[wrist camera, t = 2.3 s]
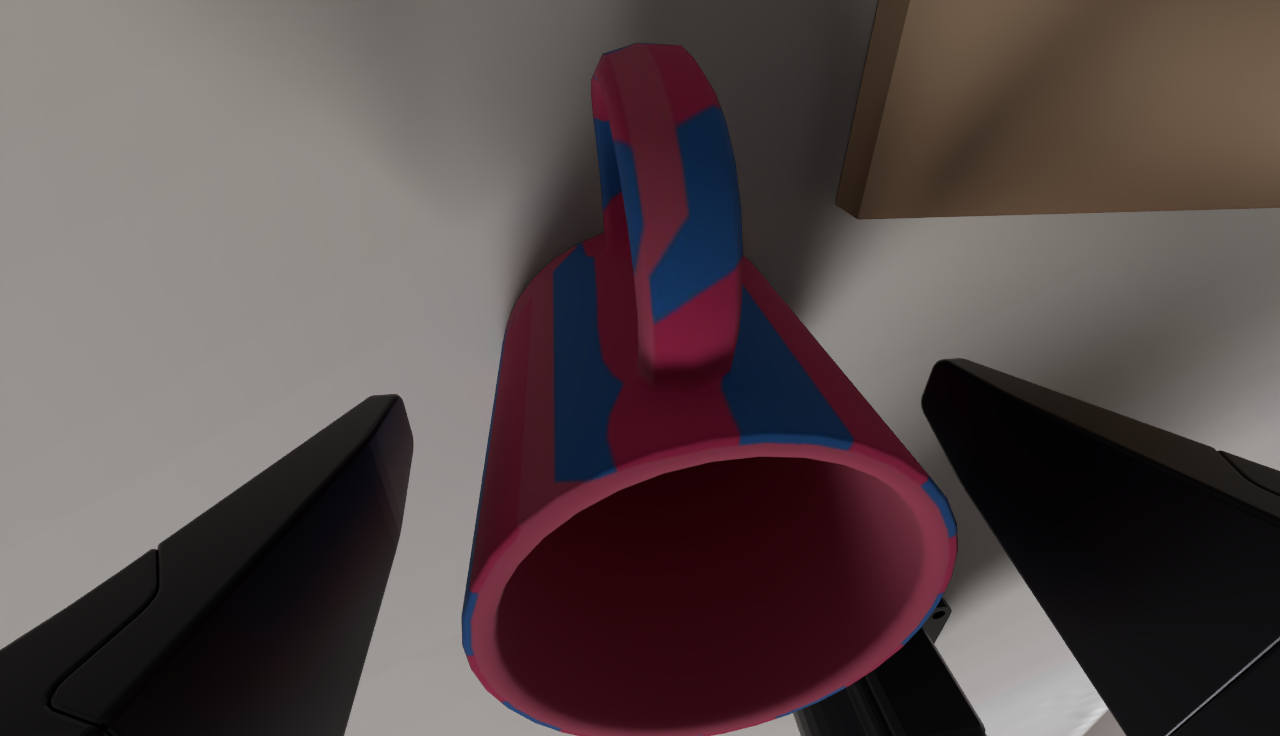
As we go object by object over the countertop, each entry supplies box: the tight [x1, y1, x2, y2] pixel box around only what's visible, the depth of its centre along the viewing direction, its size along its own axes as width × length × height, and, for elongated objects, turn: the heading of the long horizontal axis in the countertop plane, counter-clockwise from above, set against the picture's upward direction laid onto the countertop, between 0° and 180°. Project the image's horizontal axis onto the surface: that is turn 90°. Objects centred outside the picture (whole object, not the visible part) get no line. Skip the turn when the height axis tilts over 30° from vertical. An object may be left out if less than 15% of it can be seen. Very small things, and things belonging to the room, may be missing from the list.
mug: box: [462, 43, 958, 736], centre depth 9 cm, size 7×10×7 cm
